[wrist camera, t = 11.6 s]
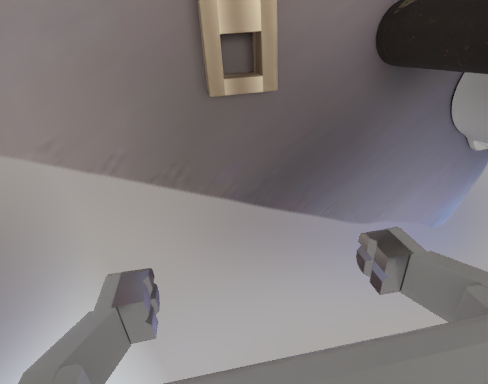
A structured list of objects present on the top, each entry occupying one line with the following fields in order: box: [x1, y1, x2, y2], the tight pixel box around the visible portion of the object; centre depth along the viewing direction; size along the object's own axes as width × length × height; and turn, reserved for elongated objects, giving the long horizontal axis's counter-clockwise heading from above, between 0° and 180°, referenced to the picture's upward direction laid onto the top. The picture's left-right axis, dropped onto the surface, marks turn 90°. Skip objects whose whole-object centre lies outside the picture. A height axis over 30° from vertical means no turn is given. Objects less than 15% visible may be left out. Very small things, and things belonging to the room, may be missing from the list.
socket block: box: [197, 0, 278, 97], centre depth 32 cm, size 8×16×5 cm, turn 4°
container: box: [377, 0, 488, 74], centre depth 30 cm, size 9×9×20 cm
